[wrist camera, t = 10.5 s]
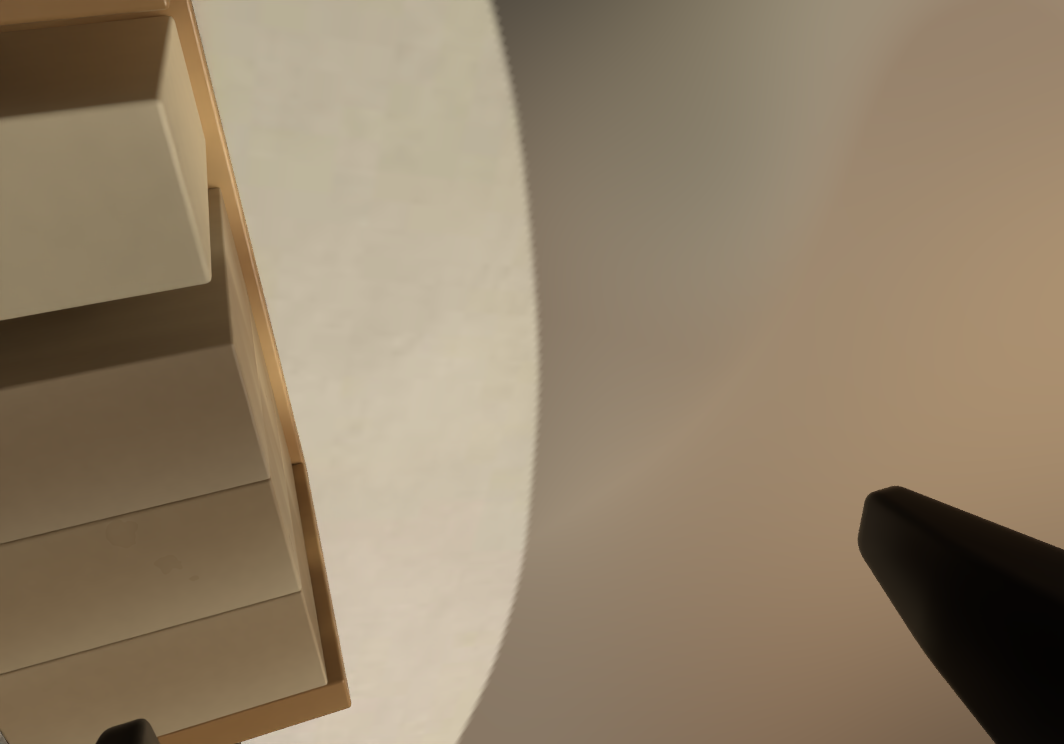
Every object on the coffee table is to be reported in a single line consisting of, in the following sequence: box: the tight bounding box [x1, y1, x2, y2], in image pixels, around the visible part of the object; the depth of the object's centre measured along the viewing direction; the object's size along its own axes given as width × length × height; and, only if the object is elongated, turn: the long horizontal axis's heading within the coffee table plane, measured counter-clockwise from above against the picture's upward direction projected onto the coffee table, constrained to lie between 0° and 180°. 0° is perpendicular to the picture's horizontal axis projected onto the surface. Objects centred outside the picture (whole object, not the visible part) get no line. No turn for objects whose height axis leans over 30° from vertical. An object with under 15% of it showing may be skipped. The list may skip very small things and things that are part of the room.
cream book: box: [0, 16, 212, 320], centre depth 13 cm, size 2×5×7 cm, turn 93°
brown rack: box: [0, 0, 351, 744], centre depth 15 cm, size 13×6×8 cm, turn 3°
